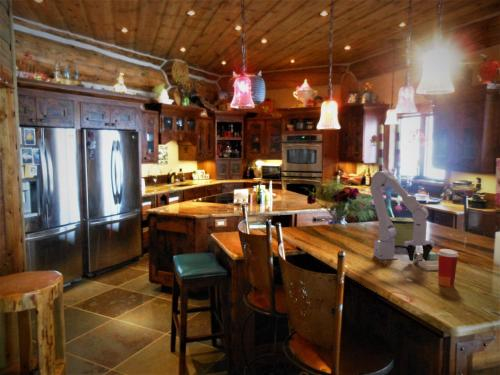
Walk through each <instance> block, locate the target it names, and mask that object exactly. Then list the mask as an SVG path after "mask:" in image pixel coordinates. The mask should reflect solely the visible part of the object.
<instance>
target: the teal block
mask: <svg viewBox="0 0 500 375" xmlns="http://www.w3.org/2000/svg"><path fill="white" fill-rule="evenodd" d="M437 260H438V252H434V251H430V253H429V255H428V258H427V260H424V261H437Z"/></svg>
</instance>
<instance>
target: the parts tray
mask: <svg viewBox="0 0 500 375" xmlns="http://www.w3.org/2000/svg"><path fill="white" fill-rule="evenodd" d="M417 266H418V267H420V268H422V269H423V270H425V271H438V260H437V261H425V260H422V261H418V265H417Z"/></svg>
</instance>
